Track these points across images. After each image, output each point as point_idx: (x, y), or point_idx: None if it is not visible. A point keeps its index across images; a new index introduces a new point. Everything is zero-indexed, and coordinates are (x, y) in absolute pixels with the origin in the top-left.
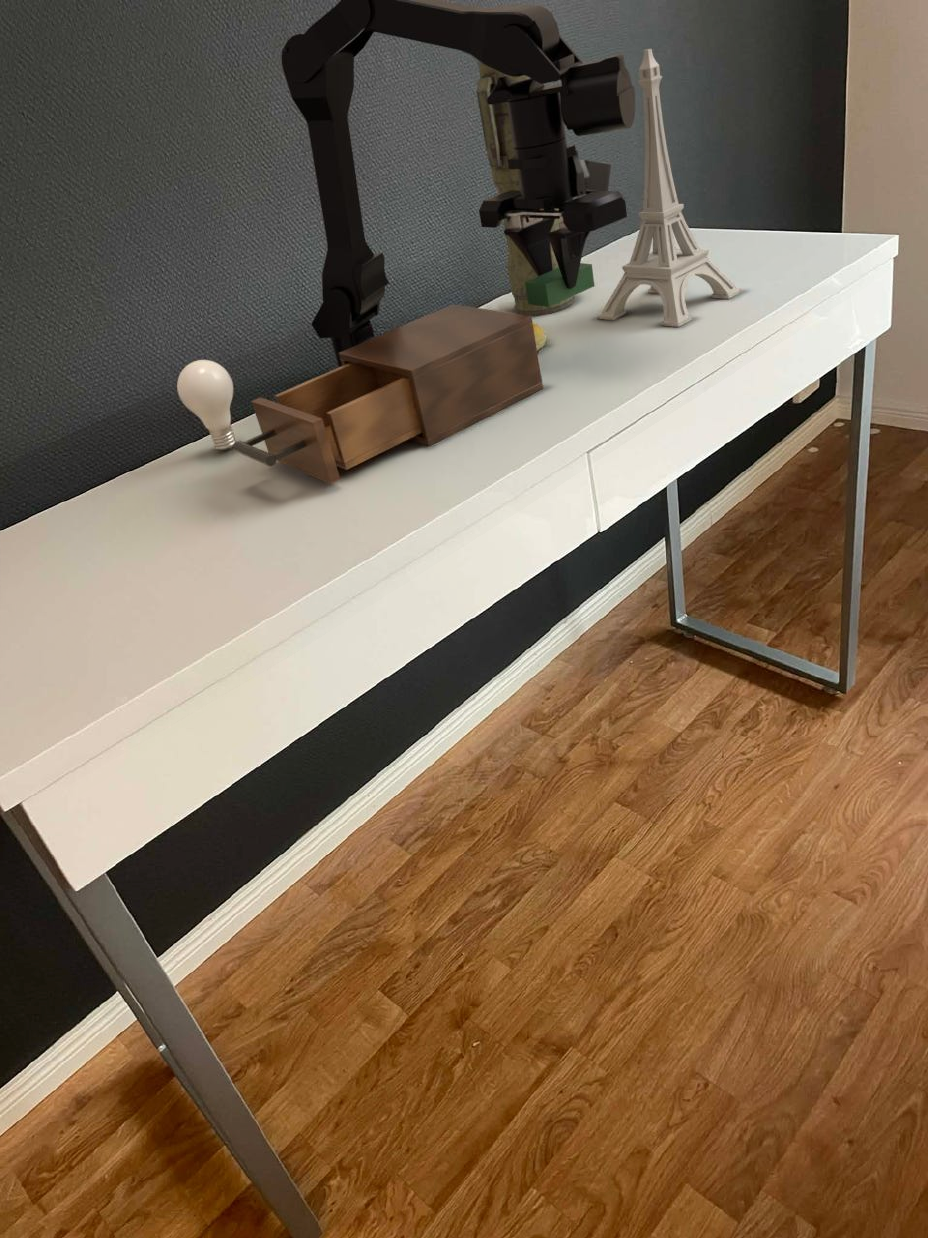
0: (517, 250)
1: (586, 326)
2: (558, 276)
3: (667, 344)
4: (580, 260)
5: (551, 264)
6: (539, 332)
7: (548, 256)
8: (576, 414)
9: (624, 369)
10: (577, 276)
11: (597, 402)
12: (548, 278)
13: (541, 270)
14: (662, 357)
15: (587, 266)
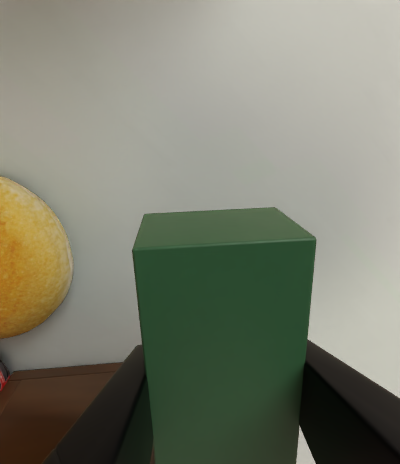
0: None
1: (10, 26)
2: (271, 424)
3: (348, 61)
4: (395, 398)
5: (141, 402)
6: (43, 232)
7: (129, 457)
8: (380, 383)
9: (341, 222)
10: (323, 350)
11: (385, 342)
12: (242, 455)
13: (148, 453)
14: (383, 136)
15: (312, 270)
